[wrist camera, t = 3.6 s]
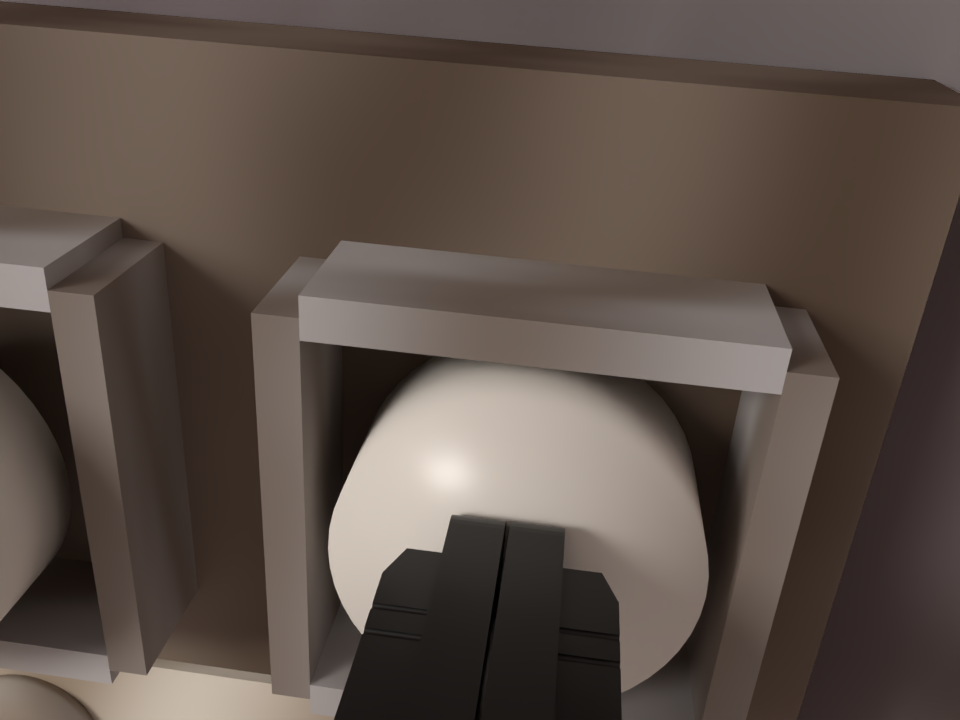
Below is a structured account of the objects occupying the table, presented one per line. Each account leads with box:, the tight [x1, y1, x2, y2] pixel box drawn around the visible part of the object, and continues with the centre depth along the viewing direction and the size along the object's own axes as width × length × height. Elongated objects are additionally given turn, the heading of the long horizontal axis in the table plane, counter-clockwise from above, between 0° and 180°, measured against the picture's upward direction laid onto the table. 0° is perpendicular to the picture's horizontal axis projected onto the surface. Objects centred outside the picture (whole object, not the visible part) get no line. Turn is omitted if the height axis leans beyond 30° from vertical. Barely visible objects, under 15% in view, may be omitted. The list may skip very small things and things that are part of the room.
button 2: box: [328, 356, 709, 693], centre depth 13 cm, size 5×5×2 cm
